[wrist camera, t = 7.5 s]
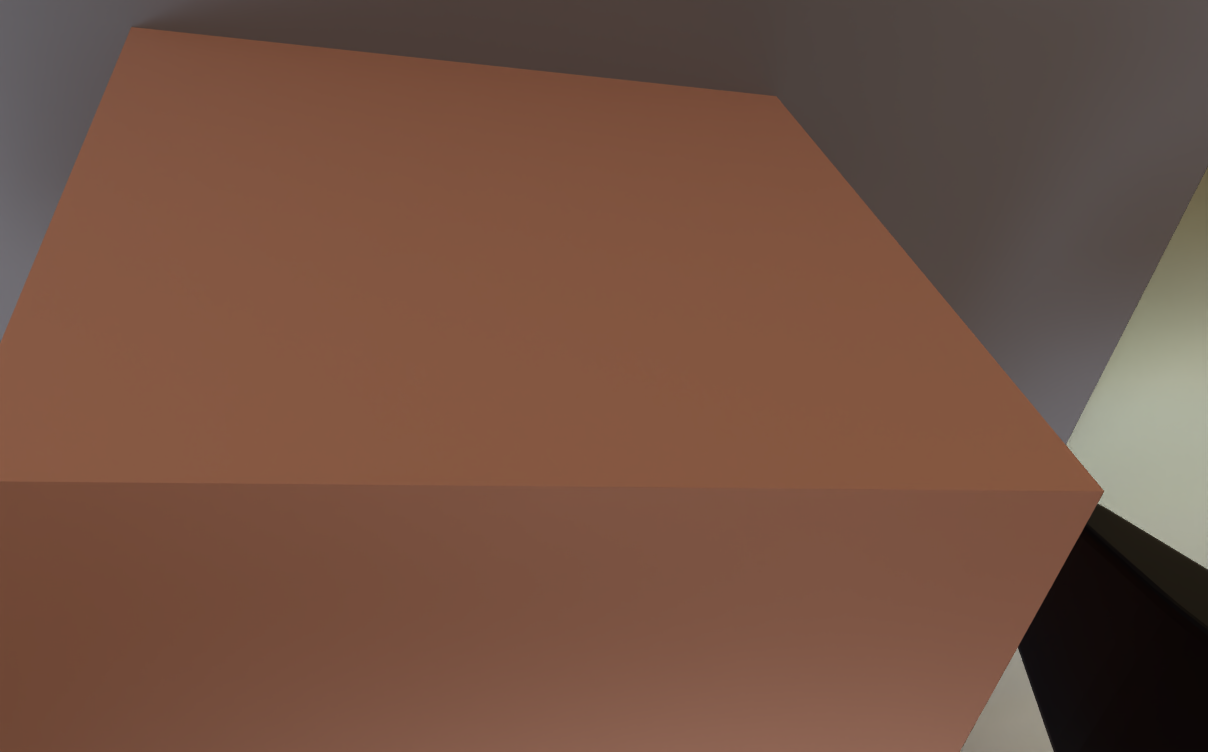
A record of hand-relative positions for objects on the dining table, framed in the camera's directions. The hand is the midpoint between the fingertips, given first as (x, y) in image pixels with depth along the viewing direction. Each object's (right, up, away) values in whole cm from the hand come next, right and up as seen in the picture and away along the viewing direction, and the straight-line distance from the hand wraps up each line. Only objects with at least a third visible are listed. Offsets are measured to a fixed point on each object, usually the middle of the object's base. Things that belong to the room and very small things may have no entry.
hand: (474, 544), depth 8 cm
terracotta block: (-1, +2, +2) cm, 3 cm away
